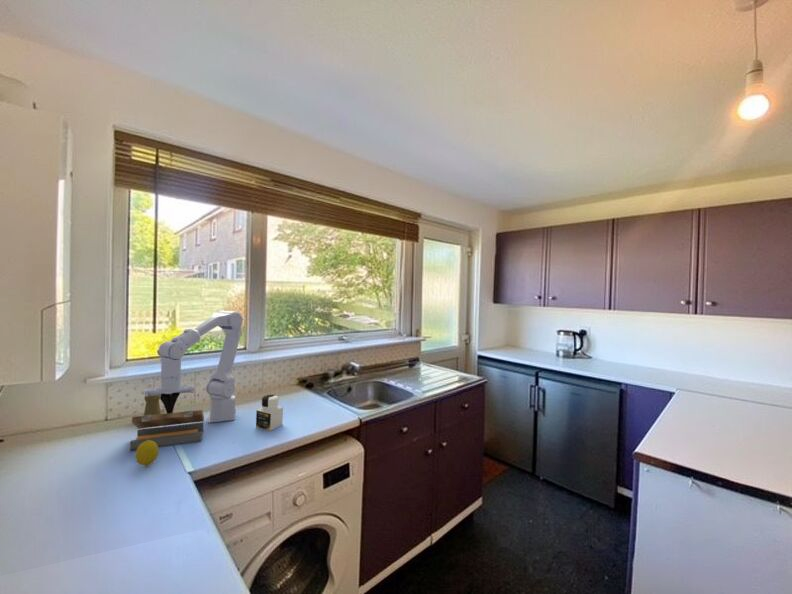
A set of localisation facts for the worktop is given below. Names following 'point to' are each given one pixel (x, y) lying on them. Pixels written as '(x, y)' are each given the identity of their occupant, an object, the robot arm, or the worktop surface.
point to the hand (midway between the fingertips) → (169, 414)
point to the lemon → (147, 452)
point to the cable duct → (169, 435)
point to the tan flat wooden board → (168, 419)
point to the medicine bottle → (269, 413)
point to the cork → (152, 405)
